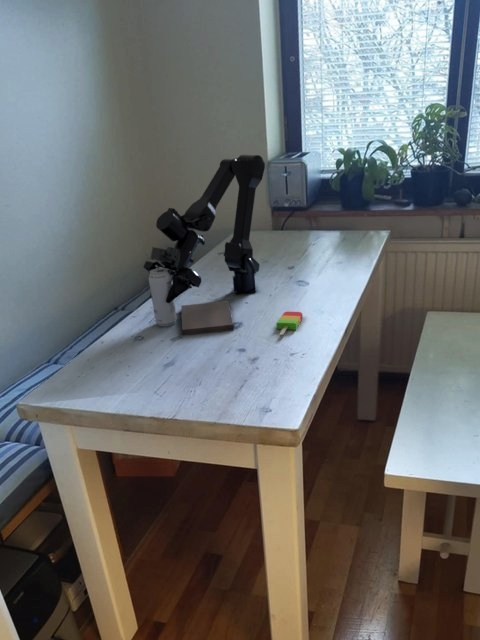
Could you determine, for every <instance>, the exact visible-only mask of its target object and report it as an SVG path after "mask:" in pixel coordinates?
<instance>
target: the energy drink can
mask: <svg viewBox="0 0 480 640" xmlns="http://www.w3.org/2000/svg"><path fill="white" fill-rule="evenodd" d="M148 284H149V289H150V290H149V291H150V293H151V296H152V299H151V301H152V308H153V314H154V320H155V323H156V324H157V325H158V326H159V327H170V326H173V325H175V324H176V321H177V319H178V318H177V317H178V316H177V311H176V305H175V299H174V300H173V301H171V302H170V303H167V302H166V298H167V296H168V293H169V291H170V288H171V286H172V284H173V282H172V276H170V274H169V273H168V270H167V269H165V268H158V269H153V270H151V271H150V273H149V276H148Z"/></svg>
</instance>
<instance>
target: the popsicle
mask: <svg viewBox="0 0 480 640" xmlns="http://www.w3.org/2000/svg"><path fill="white" fill-rule="evenodd" d="M302 320H303V312H301V311H284V312H283V313H282V314H281V316H280V318H279V319H278V321H277V322H276V323H275V325H276V326H275V327H276V329H277V330H280V332H279V334H278V335H279V336H284V334H285V332H286V331H287V330H288V331H289V330H290V331H291V330H292V331H296V330H297V328H298V327H299V325H300V324H301V322H302Z"/></svg>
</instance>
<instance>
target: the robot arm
mask: <svg viewBox="0 0 480 640" xmlns="http://www.w3.org/2000/svg"><path fill="white" fill-rule="evenodd" d="M265 168H266V162H265V161H264V158H263V157H262V156H261V155H259V154H240V155H239V156H238V157H236V158H224V159H221V160H220V163H219V167H218V168H217V170H216V172H215V174H214V175H213V177H212V178H211V180H210V182H209V183H208V185H207V186H206V189H205V190H204V192H203V194H202V195H201V196H200V197H199V199H197V200H196V201H195V202H192V203H191V205H190V206H189V207H188V208H187V209H186V211H185V213H183V214H182V215H180V214H179V212H178V210H177V209H175V208H174V207H168V209H167V211H164V212H162V213H161V214H160V216H158V218H157V219H156V223H155V226H156V228H157V229H158V231H160V232H161V234H163V235H164V236H165V237H167V239H169V240H170V241H171V242H174V245H173V246H168V247H166V249H163V248H160V247H154V246H152V247H151V253H150V259H148V260H146V261H145V262H144V265H143V269H145V270H146V271H147V272H148V273H149V274H150V271H151V270H153V269H158V268H165V269H167V270H168V273H169V274H170V276H171V279H172V286H171V288H170V291H169V293H168V296H167V298H166V302H167V303H170V302H171V301H173V300H174V301H175V299H177V298H178V297H179V296H180V295H182V294H183V293H185V292H186V291H188V290H190V289H193V287H194V288H200V286H201V284H202V276H200V275H199V274H198V272H196V271H195V270H194V269H193V268H190V267H189V265H190V264H193V263H194V261H195V260H194V259H193V256H194V254H195V251H196V249H197V247H198V245H199V246H205V245H206V242H205V239H204V235H203V234H198V233H197V232H203V233H205V232H209V231H210V230H211V228H212V226H213V224H214V221H215V219H216V210H217V207H218V205H219V203H220V202H221V201H222V199H223V197H224V195H225V194H226V192H227V190H228V189H229V187H230V185H231V183H232V182H233V180H234V178H235V179H236V182H237V185H238V193H237V201H236V208H235V209H236V210H235V217H234V226H233V234H232V238H231V239H230V241H229V242H228V241H226V242H225V244H224V253H223V257H224V262H225V264H226V266H227V268H228V271H229V272H233V275H232V287H233V291H234V292H235V294H236V295H241V294H252V293H257V287H256V275H255V274H257V273H258V272H259V270H260V263H259V262H258V261H257V260H256V259H255V258H254V257H253V256H254V255H253V253H254V252H253V251H254V248H253V246H252V244H251V239H250V236H251V228H252V220H253V213H254V207H255V197H256V190H257V188H258V187H259V185H260V184H261V182H262V180H263V178H264V173H265ZM196 231H197V232H196ZM149 298H150V299H151V300H152V296H151V292H150V294H149Z"/></svg>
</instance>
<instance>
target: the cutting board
mask: <svg viewBox="0 0 480 640" xmlns="http://www.w3.org/2000/svg"><path fill="white" fill-rule="evenodd" d="M180 308H181V331H182V336H187V335H196V334H206V333H215V332H224V331H234V330H235V325H234V321H233V317H232V312H231V309H230V308H231V307H230V304H229V300H224V301H214V302H204V303H203V302H202V303H195V304H194V303H193V304H184V305H183V304H182V305H181V306H180Z"/></svg>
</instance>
